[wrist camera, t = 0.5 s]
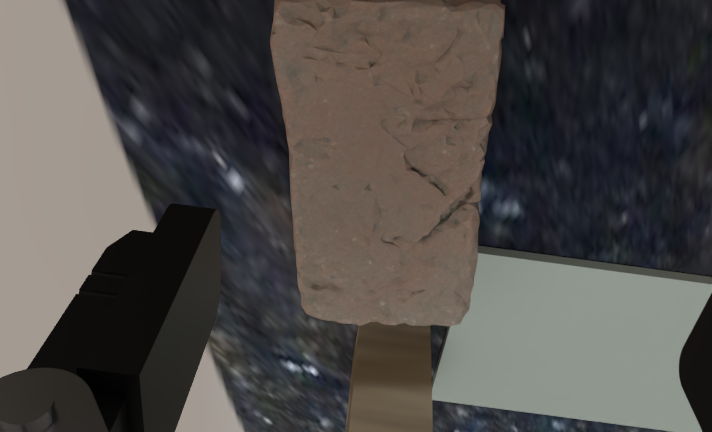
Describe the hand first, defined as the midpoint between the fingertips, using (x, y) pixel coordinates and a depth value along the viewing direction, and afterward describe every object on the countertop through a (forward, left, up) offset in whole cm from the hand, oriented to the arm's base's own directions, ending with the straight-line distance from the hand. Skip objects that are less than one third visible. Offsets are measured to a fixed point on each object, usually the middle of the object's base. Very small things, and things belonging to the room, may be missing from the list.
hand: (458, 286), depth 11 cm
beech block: (+22, +1, -19) cm, 29 cm away
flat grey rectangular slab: (+20, +13, -19) cm, 30 cm away
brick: (+9, 0, -19) cm, 21 cm away
